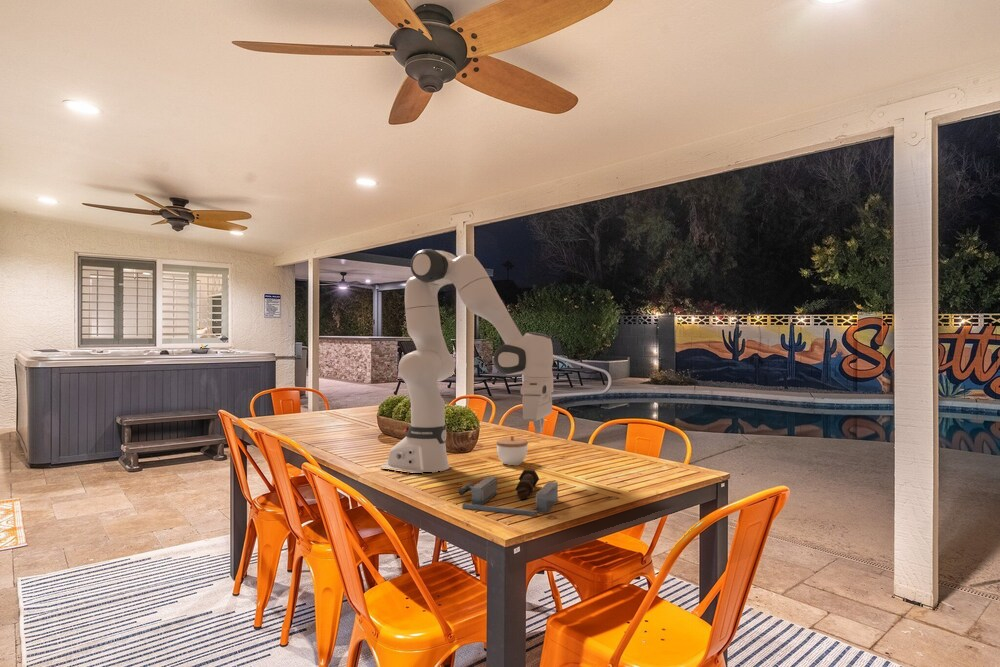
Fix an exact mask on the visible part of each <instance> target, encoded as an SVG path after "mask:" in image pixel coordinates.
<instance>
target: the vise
mask: <svg viewBox="0 0 1000 667" xmlns="http://www.w3.org/2000/svg"><path fill="white" fill-rule="evenodd" d="M558 486H559V484H558V482H556V481H555V482H554V481H547V482H546V483H545V485H544V486H543V487H541V489H539V490H538V491H537V492H536V494H535V507H536V510H534V509H533V510H532V509H523V508H512V507H503V506H492V505H485V504H483V505H476V504H472V503H467V502H466V503H463V504H461V505H462V506H461V509H466V510H467V509H468V510H473V509H475V511H482V510H483V512H492V511H494V513H501V512H503V513H504V514H513V515H521V516H532V517H537V513H539V514H546V515H547V514H548V512H549V511H550V510H551V509H552V507H553V506H554V505H555V504H557V502H558V500H559V497H558V496H559V494H558V492H559V490H558V488H559V487H558ZM484 510H485V511H484ZM503 513H502V514H503Z"/></svg>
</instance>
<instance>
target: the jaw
mask: <svg viewBox="0 0 1000 667" xmlns="http://www.w3.org/2000/svg"><path fill="white" fill-rule="evenodd" d="M497 490H498V479H497V477H496V476H486V477H485V478H484V479H483V480H482V479H481V481H479V482H478V483H476V484H475V483H474V482H473V481H470V482H468V483H467V484H465V485H463V486H462V487H460V488H459V489H458V490H457V492H458V494H459V495H460V496H464V495H465V494H467V493H468V492H471V504H476V505H485V504H486V503H487V502H488V501H490V499H492V498H493V497H495V496H496V495H497Z"/></svg>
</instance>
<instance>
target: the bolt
mask: <svg viewBox="0 0 1000 667" xmlns="http://www.w3.org/2000/svg"><path fill="white" fill-rule="evenodd" d="M518 480H519V482H518V483H517V485H516V486H515V491H516V495H517V497H518V498H519V499H520V500H521V499H522V500H525V499H527V498H529V497H530V496H531V495H532V493H533V492H534V490H535V487H536V485H537V483H538V482H539V480H540V477H539V475H538V474H537V472H536V470H535V469H533V468H532V469H531V468H524V469H523V470H522V472H521V474H520V476H519V477H518Z"/></svg>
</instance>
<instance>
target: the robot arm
mask: <svg viewBox="0 0 1000 667" xmlns="http://www.w3.org/2000/svg"><path fill="white" fill-rule="evenodd" d="M410 271H411V273H412V275H413V276H411V277H409V278H408V279H407V280H406V282H405V287H404V311H405V312H404V313H405V320H406V330H407V331H406V332H407V333H408V334H407V335H408V336H409V337H410V338H411V339H412V341H413V344H414V345H415V348H416V350H413V351H411V352H407V354H405V355H403V356H402V357H401V358H400V360H399V362H398V365H397V366H398V370H397V371H398V374H399V376H400V378H401V380H403V381H404V383H405V385H406V387H407V392H408V395H409V401H410V425H409V426H407V427H406V428H404V430H403V432H404V433H406V435H405V437H404V438H403V439H401V440H400V441H398V442H397V443H396V444H395V445H393V446H392V447H391V449H390V450H389V453H388V458H387V461H386V462H384V463H382V464H381V466H380V468H381V467H385V468H390V469H396V470H402V471H407V472H413V473H422V472H432V473H439V472H438V471H440V472H443V471H447V470H449V469H450V463H449V460H448V454H447V447H446V446H447V445H446V441H447V424H445V423H446V422H445V421H446V416H445V415H446V413H445V412H446V409H445V407H446V406H445V404H446V403H445V399H444V398H443V397H442V395H441V393H440V388H439V384H438V382H442V381H443V382H444V381H445V380H447V379H449V377H452V375H453V373H454V372H455V369H456V362H455V358H454V357H453V356H452V354H451V353H450V352H449V349H448V347H447V346H448V345H447V343H446V340H445V338H444V335H443V331H442V327H441V326H442V325H441V318H440V317H441V316H440V308H439V301H438V298H439V297H438V293H439V291H440V289H441V290H446V289H448V288H450V287H451V286H454V287H455V289H456V291H457V293H458V295H459V297H460V299H461V301H462V302H463V304H464V306H465V307H466V308H467V310H468V311H469V312H470V313H472V314H473V315H476V316H478V317H480V318H481V319H485V321H487V322H489V323H490V324H491V325H492V326H493V327H494V328H495V329H496V331H497V332H498V334H499V336H500V337H501V339H502V341H503V343H504V344H502V345H500V346H498V347H497V348H496V350H495V351H494V354H493V364H494V368H495V369H496V370H497V371H498V372H499V373H500V374H503V375H507V376H513V375H514V376H516V375H523V382H522V385H521V387H520V395H522V398H521V400H522V401H521V403H522V417H523V420H524V421H525V422H533V423H532V424H533V427H534V434H541V433H543V432H544V423H545V417H547V416H550V415H551V414H552V412H553V396H552V393H554V373H553V364H554V350H553V348H554V347H553V342H552V338H551V337H550V336H549V335H548V334H546V333H541V332H534V331H528V332H526V333H524V335H523V333H522V331H521V330H520V328H519V327H518V325H517V322H516V321H515V320H514V318H513V317H512V315H511V313H510V312H509V310H508V309H507V307H506V305H505V304H504V302H503V300H502V299H501V296H500V295H499V293H498V292H497V289H496V288H495V286H494V284H493V282H492V280H491V278H490V276H489V274H488V272H487V271H486V269H485V268H484V266H483V265H482V264H481V262H480V261H479V259H478V258H477V257H476V256H475V255H473V254H470V253H464V254H461V255H459V256H458V255H456V254H454V253H451V252H448V251H445V250H437V249H432V248H425V249H423V248H422V249H420V250H418V251H417V252H415V253H414V254H413V256H412V258H411V261H410ZM422 474H423V473H422Z"/></svg>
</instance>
